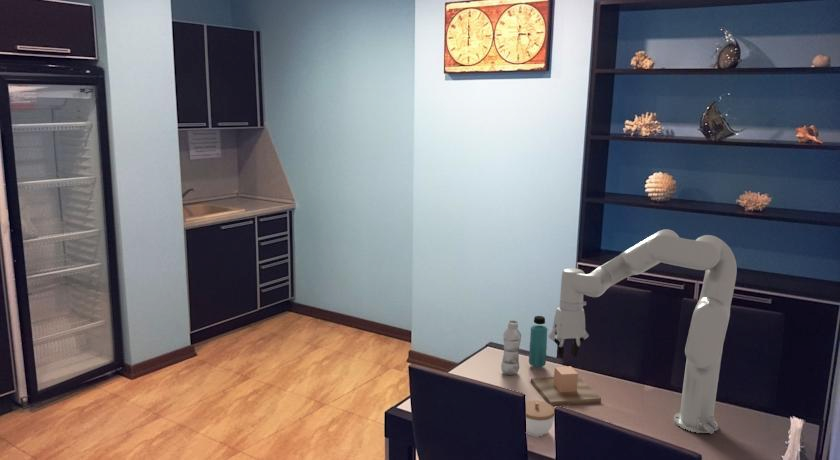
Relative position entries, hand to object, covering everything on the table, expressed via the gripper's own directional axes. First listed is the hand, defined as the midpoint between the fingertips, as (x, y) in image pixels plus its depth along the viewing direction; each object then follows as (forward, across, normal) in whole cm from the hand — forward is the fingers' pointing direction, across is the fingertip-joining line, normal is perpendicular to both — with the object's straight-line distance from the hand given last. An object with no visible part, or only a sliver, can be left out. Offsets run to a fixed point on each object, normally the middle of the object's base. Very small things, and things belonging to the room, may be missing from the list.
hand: (567, 355), depth 212 cm
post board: (+13, 0, 0) cm, 13 cm away
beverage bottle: (+14, +2, -21) cm, 25 cm away
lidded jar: (+14, +20, +24) cm, 34 cm away
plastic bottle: (+14, +14, -17) cm, 26 cm away
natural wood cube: (+12, 0, 0) cm, 12 cm away
